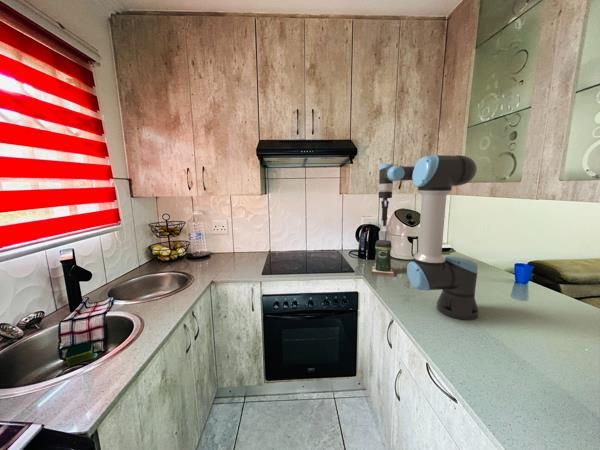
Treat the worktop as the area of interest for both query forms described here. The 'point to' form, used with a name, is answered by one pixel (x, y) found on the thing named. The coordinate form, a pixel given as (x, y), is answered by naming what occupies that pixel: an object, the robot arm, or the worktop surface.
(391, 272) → the tan flat block
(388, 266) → the coffee jar
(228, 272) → the worktop surface
